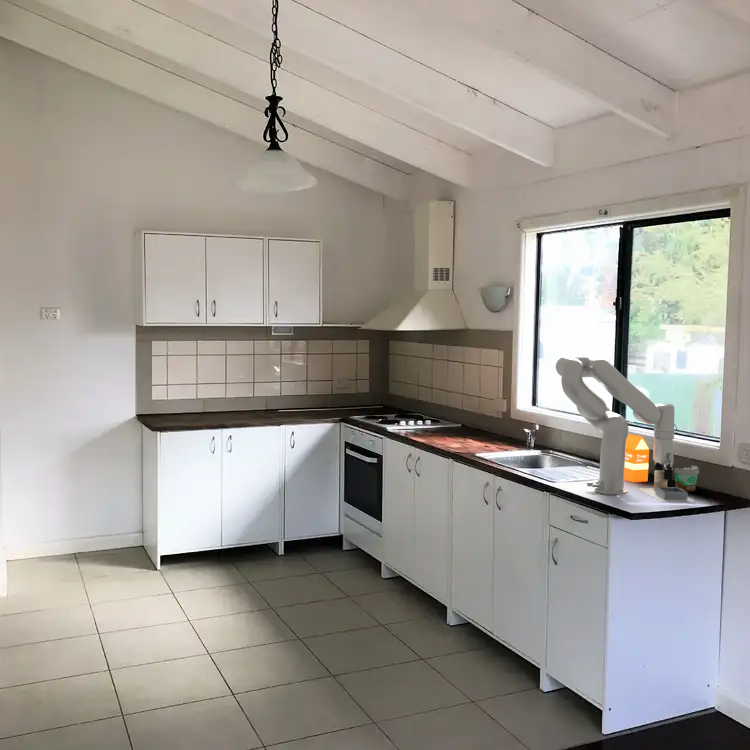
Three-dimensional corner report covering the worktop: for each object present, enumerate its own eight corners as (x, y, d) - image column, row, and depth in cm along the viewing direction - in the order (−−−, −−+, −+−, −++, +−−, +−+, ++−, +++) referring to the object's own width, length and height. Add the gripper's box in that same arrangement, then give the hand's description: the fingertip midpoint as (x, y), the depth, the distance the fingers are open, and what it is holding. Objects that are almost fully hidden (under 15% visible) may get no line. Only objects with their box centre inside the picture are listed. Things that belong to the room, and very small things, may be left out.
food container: (686, 495, 329) (688, 470, 328) (673, 492, 334) (674, 467, 333) (704, 491, 336) (705, 467, 336) (690, 488, 341) (692, 464, 341)
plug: (656, 492, 329) (657, 472, 328) (651, 489, 334) (652, 470, 333) (668, 492, 329) (669, 472, 329) (663, 489, 334) (665, 470, 334)
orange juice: (632, 484, 348) (635, 437, 346) (619, 479, 356) (621, 433, 355) (647, 483, 351) (650, 436, 349) (634, 478, 359) (636, 433, 357)
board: (659, 502, 315) (659, 500, 315) (638, 489, 336) (638, 488, 336) (695, 503, 315) (695, 501, 315) (672, 490, 337) (672, 488, 337)
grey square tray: (664, 499, 316) (664, 492, 316) (655, 494, 325) (655, 487, 325) (687, 500, 316) (687, 492, 316) (677, 494, 325) (678, 487, 325)
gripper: (646, 431, 338) (646, 472, 340) (663, 438, 321) (662, 481, 323) (664, 431, 339) (664, 472, 340) (682, 437, 321) (681, 481, 323)
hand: (663, 476), depth 331 cm, fingers open, 9 cm apart
